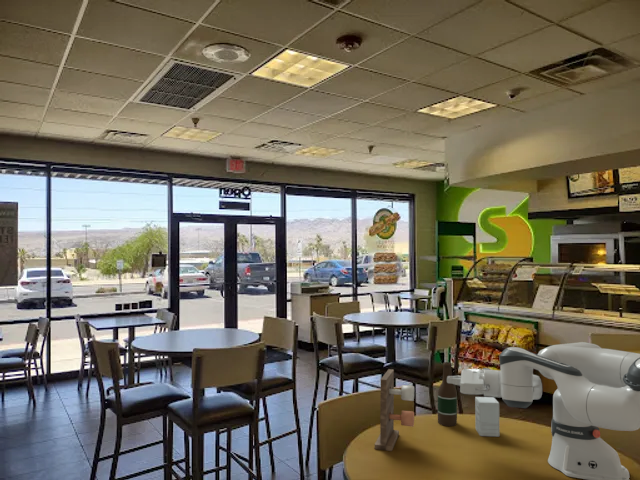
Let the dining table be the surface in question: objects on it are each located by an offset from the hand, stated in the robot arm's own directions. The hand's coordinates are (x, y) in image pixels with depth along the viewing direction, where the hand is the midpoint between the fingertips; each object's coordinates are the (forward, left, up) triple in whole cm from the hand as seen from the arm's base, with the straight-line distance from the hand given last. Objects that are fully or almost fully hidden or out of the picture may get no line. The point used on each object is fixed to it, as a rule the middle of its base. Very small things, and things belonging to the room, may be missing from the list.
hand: (447, 379), depth 167 cm
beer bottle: (+8, -26, -24) cm, 36 cm away
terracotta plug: (+16, +4, -17) cm, 24 cm away
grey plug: (+16, +4, -8) cm, 19 cm away
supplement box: (-8, -24, -24) cm, 35 cm away
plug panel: (+20, +5, -24) cm, 32 cm away
